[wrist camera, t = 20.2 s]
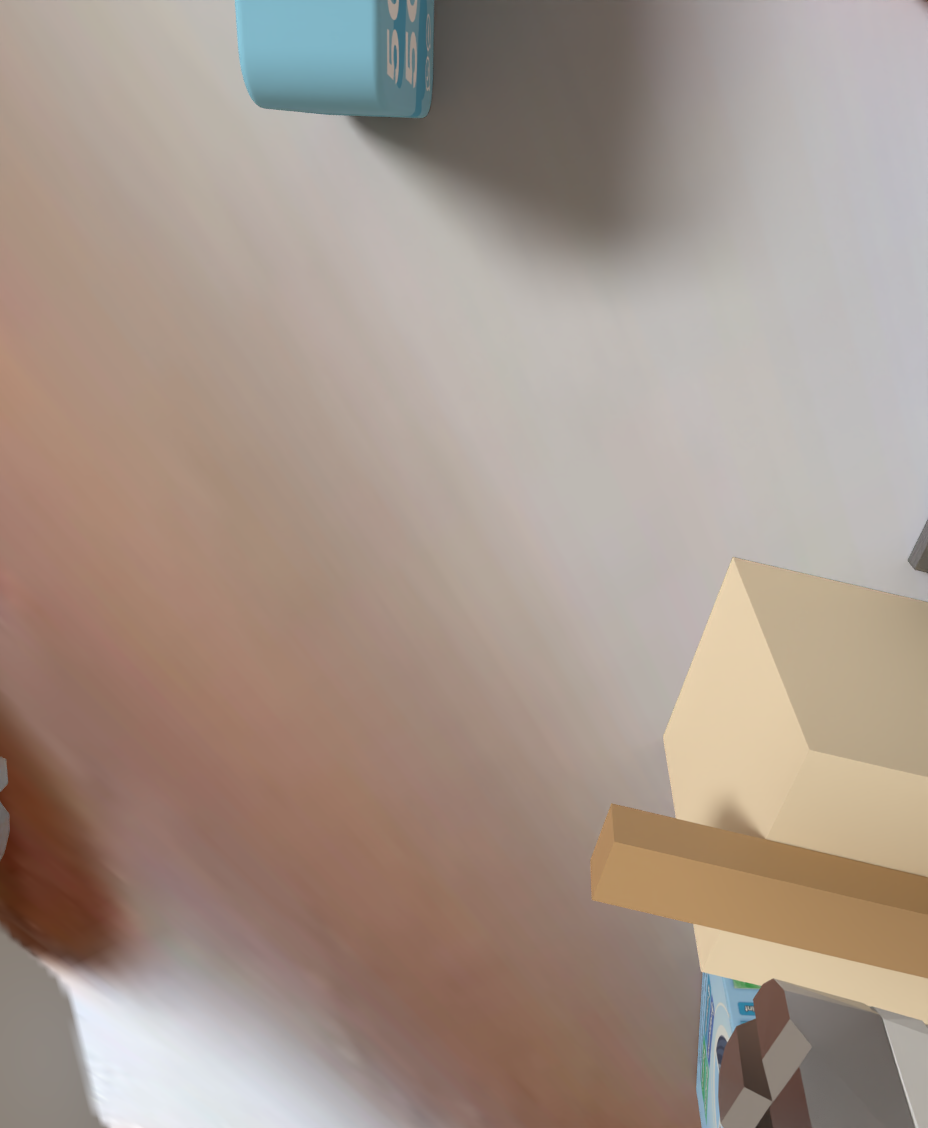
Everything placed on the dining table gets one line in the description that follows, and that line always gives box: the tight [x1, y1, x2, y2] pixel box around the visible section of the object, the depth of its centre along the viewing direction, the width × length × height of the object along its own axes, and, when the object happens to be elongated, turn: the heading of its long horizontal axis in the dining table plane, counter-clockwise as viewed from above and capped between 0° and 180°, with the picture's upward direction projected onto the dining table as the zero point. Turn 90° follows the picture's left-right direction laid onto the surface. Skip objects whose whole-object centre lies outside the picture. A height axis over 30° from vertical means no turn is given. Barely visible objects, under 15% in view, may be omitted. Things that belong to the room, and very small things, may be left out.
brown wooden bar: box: [590, 804, 928, 979], centre depth 33 cm, size 22×3×2 cm, turn 78°
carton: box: [663, 557, 928, 1025], centre depth 41 cm, size 16×12×16 cm
